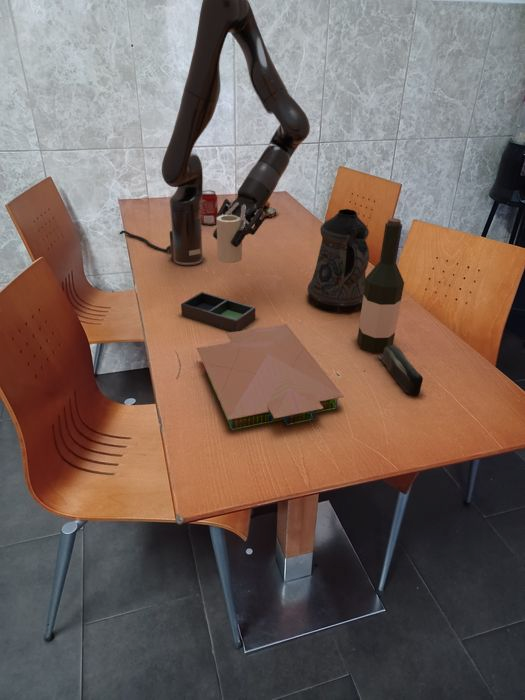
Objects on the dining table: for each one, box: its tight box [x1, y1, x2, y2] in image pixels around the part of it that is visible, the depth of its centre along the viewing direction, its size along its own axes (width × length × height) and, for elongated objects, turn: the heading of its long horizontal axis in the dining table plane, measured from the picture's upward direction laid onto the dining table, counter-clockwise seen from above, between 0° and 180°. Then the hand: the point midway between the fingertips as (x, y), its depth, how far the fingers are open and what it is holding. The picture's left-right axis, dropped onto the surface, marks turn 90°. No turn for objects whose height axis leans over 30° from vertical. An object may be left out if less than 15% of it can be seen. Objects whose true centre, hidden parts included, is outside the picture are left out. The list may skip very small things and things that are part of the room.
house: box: [196, 323, 345, 431], centre depth 103 cm, size 23×33×8 cm
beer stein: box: [307, 208, 370, 314], centre depth 132 cm, size 16×19×25 cm
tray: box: [180, 291, 256, 332], centre depth 128 cm, size 17×9×3 cm, turn 59°
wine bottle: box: [356, 217, 405, 354], centre depth 111 cm, size 8×8×30 cm
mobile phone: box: [377, 344, 424, 396], centre depth 106 cm, size 5×3×15 cm
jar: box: [216, 214, 243, 264], centre depth 125 cm, size 6×6×10 cm
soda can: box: [200, 189, 219, 226], centre depth 193 cm, size 7×7×12 cm
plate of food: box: [261, 200, 277, 218], centre depth 206 cm, size 12×12×8 cm
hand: (224, 241), depth 124 cm, fingers closed on jar, 6 cm apart
